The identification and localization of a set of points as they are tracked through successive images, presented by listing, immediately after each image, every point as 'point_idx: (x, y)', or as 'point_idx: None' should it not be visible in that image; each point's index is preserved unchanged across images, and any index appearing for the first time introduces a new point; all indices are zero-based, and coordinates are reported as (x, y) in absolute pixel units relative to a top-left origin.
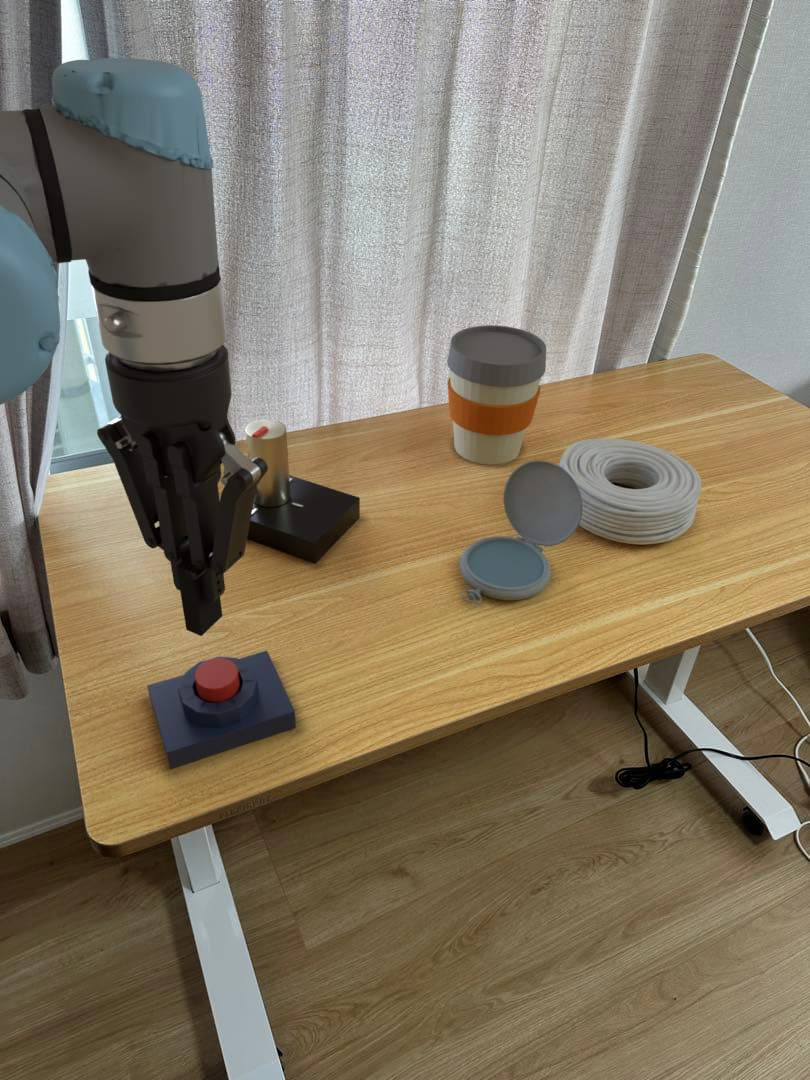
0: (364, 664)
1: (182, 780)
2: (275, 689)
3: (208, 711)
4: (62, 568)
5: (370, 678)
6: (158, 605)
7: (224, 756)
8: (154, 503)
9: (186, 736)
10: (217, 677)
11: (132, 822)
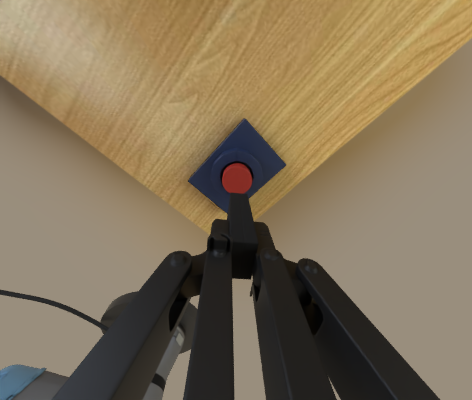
0: (312, 84)
1: None
2: (267, 153)
3: None
4: (8, 73)
5: (320, 98)
6: (123, 86)
7: None
8: (156, 351)
9: None
10: (240, 184)
11: None
